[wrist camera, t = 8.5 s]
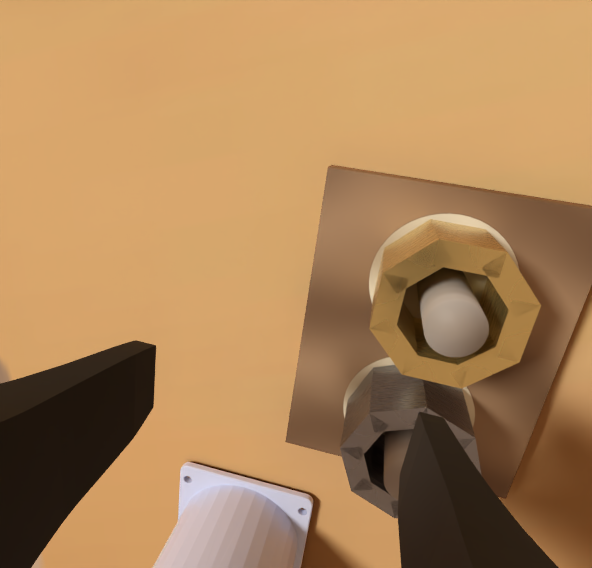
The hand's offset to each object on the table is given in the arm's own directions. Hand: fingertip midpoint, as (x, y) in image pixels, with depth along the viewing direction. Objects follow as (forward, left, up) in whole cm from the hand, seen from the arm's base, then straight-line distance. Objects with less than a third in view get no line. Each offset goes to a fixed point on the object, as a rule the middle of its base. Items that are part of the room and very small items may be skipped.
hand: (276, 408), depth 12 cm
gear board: (-1, -5, -10) cm, 11 cm away
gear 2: (-5, -5, -9) cm, 11 cm away
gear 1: (+2, -5, -9) cm, 10 cm away
